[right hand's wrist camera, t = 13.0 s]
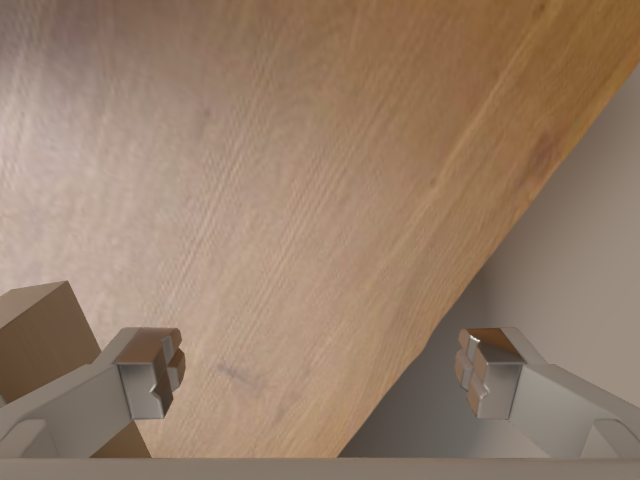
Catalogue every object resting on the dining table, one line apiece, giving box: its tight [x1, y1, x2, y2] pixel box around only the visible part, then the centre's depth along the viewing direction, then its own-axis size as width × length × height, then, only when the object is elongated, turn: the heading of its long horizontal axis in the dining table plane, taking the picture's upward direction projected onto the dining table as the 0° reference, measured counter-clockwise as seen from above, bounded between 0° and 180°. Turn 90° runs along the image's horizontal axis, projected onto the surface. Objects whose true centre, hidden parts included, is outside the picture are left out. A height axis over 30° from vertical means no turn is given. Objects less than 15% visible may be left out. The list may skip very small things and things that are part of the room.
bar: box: [0, 281, 152, 458], centre depth 29 cm, size 25×5×9 cm, turn 10°
